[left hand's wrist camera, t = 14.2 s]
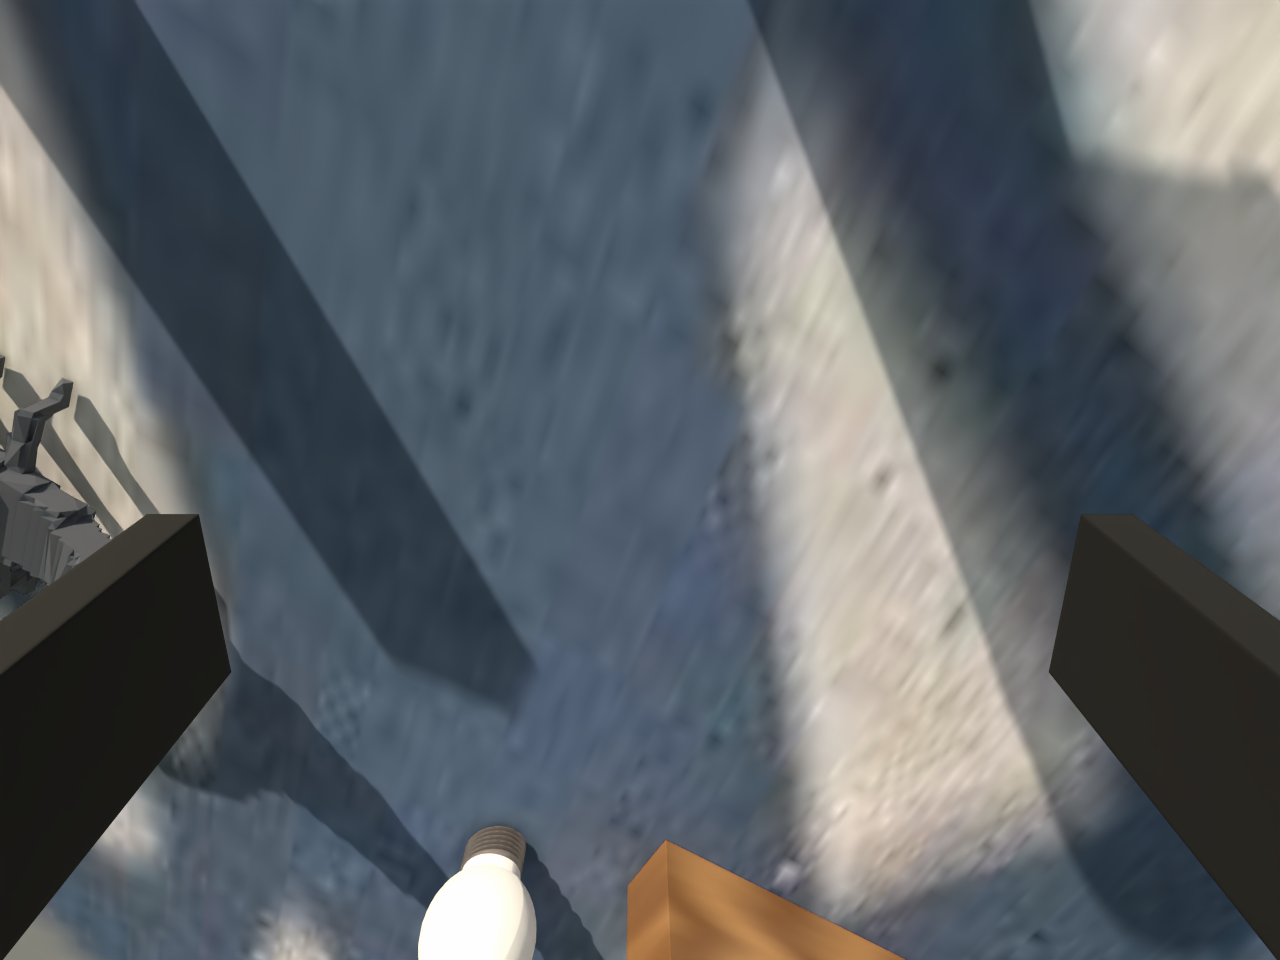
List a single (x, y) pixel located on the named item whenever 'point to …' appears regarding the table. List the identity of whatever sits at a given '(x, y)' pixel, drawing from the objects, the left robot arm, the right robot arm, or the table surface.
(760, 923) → the bar
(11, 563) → the toy
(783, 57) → the table surface
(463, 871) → the light bulb
